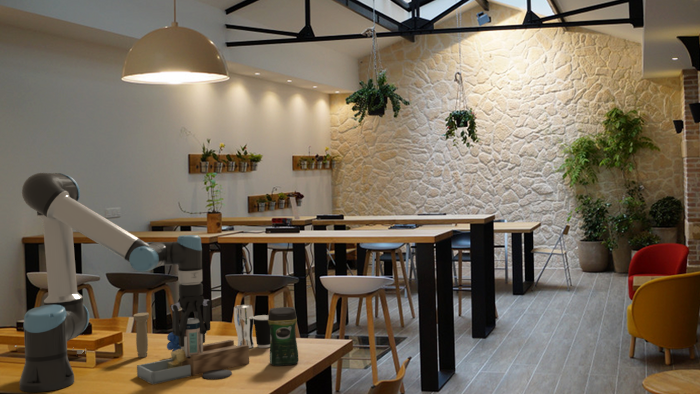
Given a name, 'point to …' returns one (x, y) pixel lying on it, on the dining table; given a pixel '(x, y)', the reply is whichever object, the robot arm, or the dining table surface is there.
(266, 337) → the dixie cup
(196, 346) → the white labelled bottle
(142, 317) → the handle
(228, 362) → the slot board
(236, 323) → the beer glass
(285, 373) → the dining table surface
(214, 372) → the coaster
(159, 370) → the tray
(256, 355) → the dining table surface
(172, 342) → the grapes
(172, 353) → the tan block
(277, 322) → the coffee jar
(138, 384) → the dining table surface
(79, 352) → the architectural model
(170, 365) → the chip
